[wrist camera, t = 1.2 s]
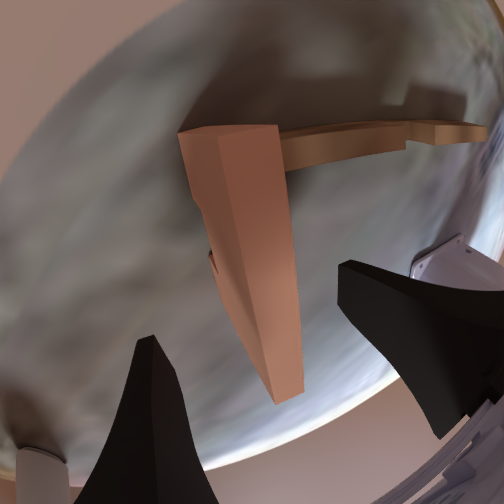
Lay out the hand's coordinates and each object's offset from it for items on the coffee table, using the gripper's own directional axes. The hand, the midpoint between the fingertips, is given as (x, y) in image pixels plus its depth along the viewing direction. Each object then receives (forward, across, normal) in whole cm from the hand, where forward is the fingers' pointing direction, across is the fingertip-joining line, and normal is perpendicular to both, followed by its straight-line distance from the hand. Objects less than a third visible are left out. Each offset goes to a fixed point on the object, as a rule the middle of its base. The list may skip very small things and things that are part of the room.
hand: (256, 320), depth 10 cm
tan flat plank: (+5, 0, -2) cm, 5 cm away
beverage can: (+5, +26, +16) cm, 31 cm away
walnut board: (+5, -12, -5) cm, 14 cm away
